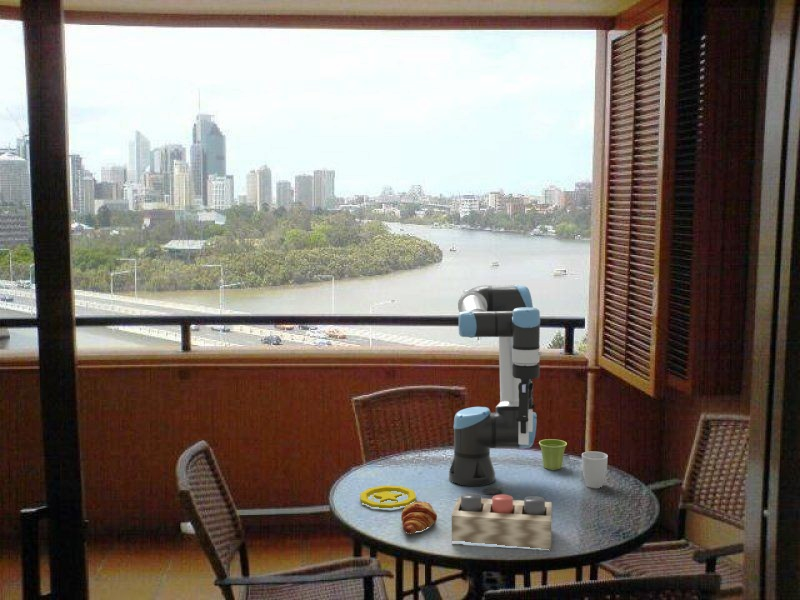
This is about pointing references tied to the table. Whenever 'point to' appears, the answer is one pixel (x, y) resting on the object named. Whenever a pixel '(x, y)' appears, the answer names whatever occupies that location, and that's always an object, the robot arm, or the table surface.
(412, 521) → the croissant
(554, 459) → the plant pot
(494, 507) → the middle button
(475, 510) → the left button
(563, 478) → the table surface
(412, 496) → the decorative disc
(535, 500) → the right button
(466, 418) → the robot arm
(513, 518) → the control box
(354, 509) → the table surface
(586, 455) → the cup
